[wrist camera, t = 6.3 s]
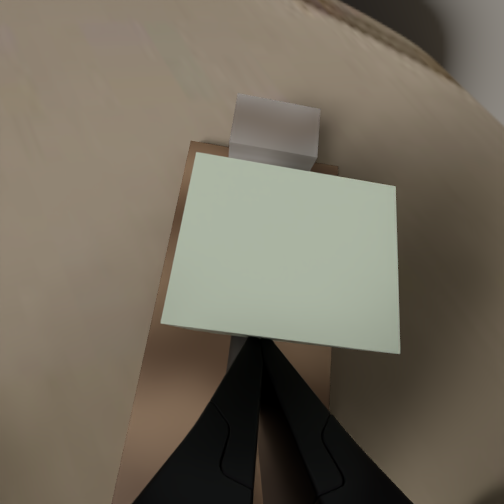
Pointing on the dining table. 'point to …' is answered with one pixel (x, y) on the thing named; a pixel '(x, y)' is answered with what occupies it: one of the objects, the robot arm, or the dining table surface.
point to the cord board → (204, 343)
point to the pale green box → (286, 257)
